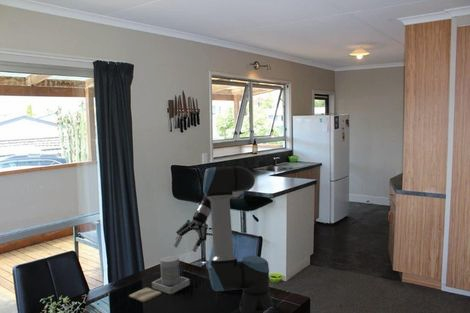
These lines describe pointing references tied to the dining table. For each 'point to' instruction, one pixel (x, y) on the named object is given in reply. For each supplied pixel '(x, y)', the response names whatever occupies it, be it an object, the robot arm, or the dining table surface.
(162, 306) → the dining table surface
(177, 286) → the grey square frame
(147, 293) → the birch board
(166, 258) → the supplement tub
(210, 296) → the dining table surface
